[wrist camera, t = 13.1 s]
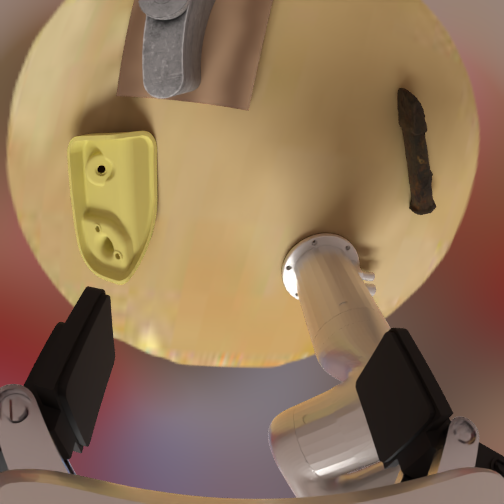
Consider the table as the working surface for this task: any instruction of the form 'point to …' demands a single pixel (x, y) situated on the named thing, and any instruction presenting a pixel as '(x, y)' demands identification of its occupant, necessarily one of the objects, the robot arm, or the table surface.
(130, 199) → the plastic component
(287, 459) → the robot arm
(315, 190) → the table surface
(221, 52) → the brown flat square piece
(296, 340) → the table surface
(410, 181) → the hand tool
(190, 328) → the table surface
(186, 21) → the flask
